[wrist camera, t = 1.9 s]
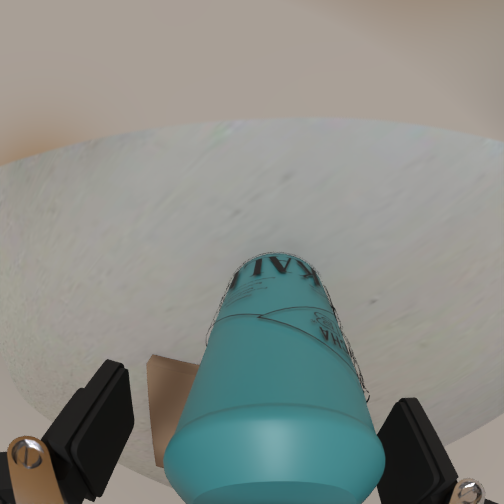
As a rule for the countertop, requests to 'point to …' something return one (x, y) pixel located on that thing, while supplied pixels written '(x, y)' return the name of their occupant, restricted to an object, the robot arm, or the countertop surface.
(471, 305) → the countertop surface
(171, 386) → the walnut board
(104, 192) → the countertop surface
